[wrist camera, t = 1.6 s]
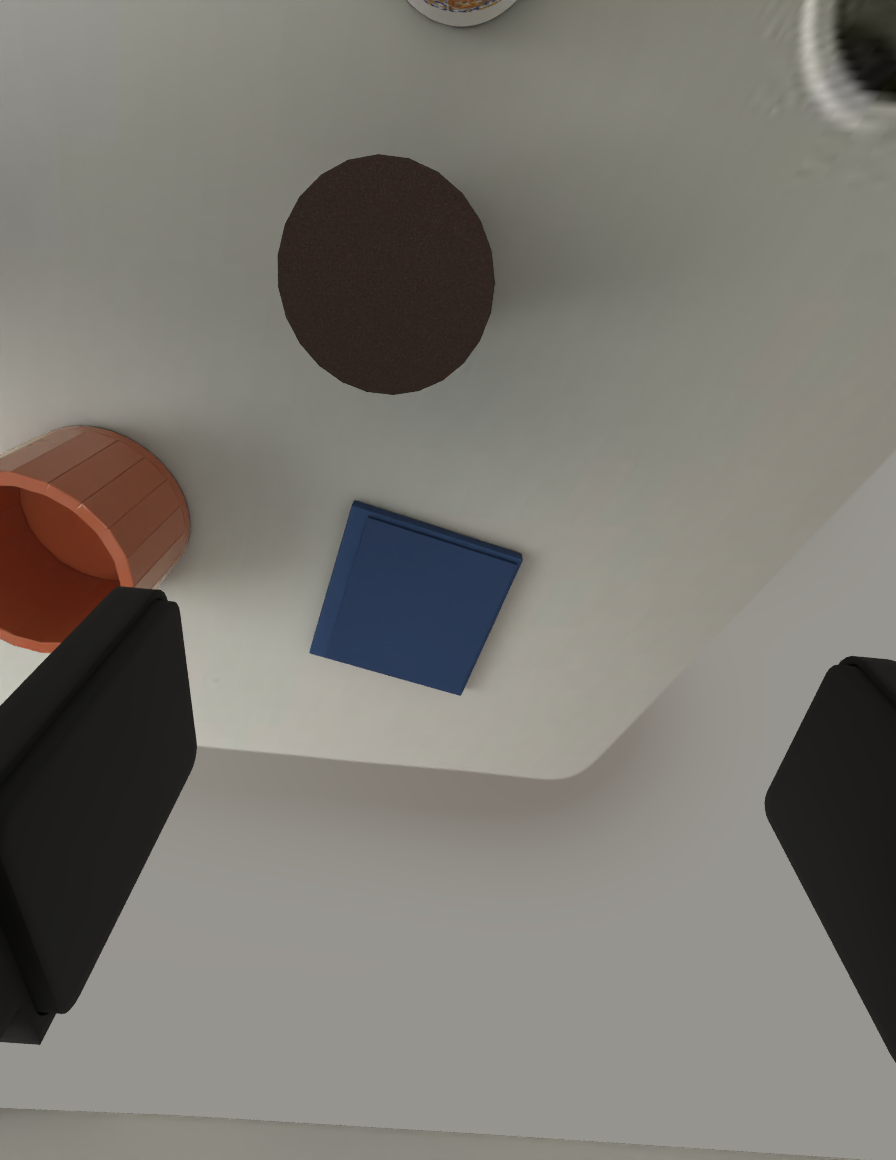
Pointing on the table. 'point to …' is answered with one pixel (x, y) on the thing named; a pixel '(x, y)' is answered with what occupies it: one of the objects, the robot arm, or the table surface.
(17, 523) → the pot
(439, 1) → the bath foam
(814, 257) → the table surface
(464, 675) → the blue book
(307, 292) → the deodorant
